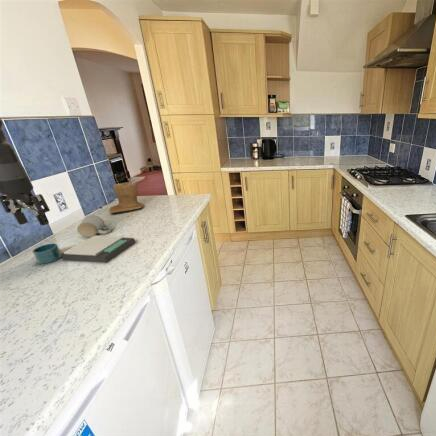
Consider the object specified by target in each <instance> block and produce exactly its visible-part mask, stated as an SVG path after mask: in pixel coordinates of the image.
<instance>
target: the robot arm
mask: <svg viewBox="0 0 436 436" xmlns="http://www.w3.org/2000/svg"><path fill="white" fill-rule="evenodd" d="M3 126H4V124H3V120H2V118H1V117H0V203H1V206H2V207H3V210H4V211H5V213H7V214H9V213H10V214H11V215H12V216H14V217H15V220H16V222H17V223H18V225H19V226H20V225H21V226H23V225H25V224H28V219H27V217H26V215H25V213H24V212H23V210H24V209H25V210H27V211H29V212H32V213H33V214H34V215H35V217H36V219H37V221H38V223H39V225H40V226H46V225H48V224H49V223H50V221H49V219H48V217H47V215H46V213H49V212H50V211H51V209H50V207H49V206H48V204H47V201H46V199H45V198H44V196H43V195H42V194H41V193H39V194H33V192H32V191H33V190H34V185H33V184H32V181H31V179H30V177H29V175H28V172H27V170H26V169H25V167H24V165H23V164H22V162H21V160H20V158H19V157H18V155H17V153H16V150H15V148H14V147H13V145H12V144H11V143H10V142H9V141H8V139H7V136H6V134H5V133H4V131H3Z"/></svg>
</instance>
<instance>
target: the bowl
mask: <svg viewBox="0 0 436 436" xmlns="http://www.w3.org/2000/svg"><path fill="white" fill-rule="evenodd" d="M32 254H33V255H34V258H35V260H36V261H37V263H38V264H44V265H45V264H50V263H53V262H56V261H57V260H59V259H61V258H62V257H61V254H62V252H61V250H60V247H59V244H57V243H55V242H54V243H53V242H52V243H47V244H43V245H40V246H37V247H35V248H34V249H33V250H32Z"/></svg>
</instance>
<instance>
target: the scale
mask: <svg viewBox="0 0 436 436" xmlns="http://www.w3.org/2000/svg"><path fill="white" fill-rule="evenodd" d="M135 244H136V240H135V238H134V237H124V236H118V235H117V236H116V235H95V236H93V237H88V238H87V239H85V240H83V241H81V242H79V243H78V244H76V245H74V246H72V247H71V248H68V249H66V250H64V251H63V253H61V257H60V258H61V259H62V261H71V262H72V261H73V262H91V263H109V262H110V261H112V260H113V259H114V258H116V257H117V256H119V255H120V254H122V253H123V252H125V251H126V250H128V249H129V248H131V247H132V246H134V245H135Z"/></svg>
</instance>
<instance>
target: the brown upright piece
mask: <svg viewBox="0 0 436 436" xmlns="http://www.w3.org/2000/svg"><path fill="white" fill-rule="evenodd" d="M113 193H114V194H115V196H116V199H117V200H118V203H117V204H115V205H113V206H110V208H109V210H108V212H109V214H116V213H117V214H118V213H123V212H129V211H135V210H140V209H141V208H143V207H144V204H143V203H142V202H139V201H138V187H137V184H136V182H135V183H134V182H123V183H120V182H119V183H114V184H113Z"/></svg>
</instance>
